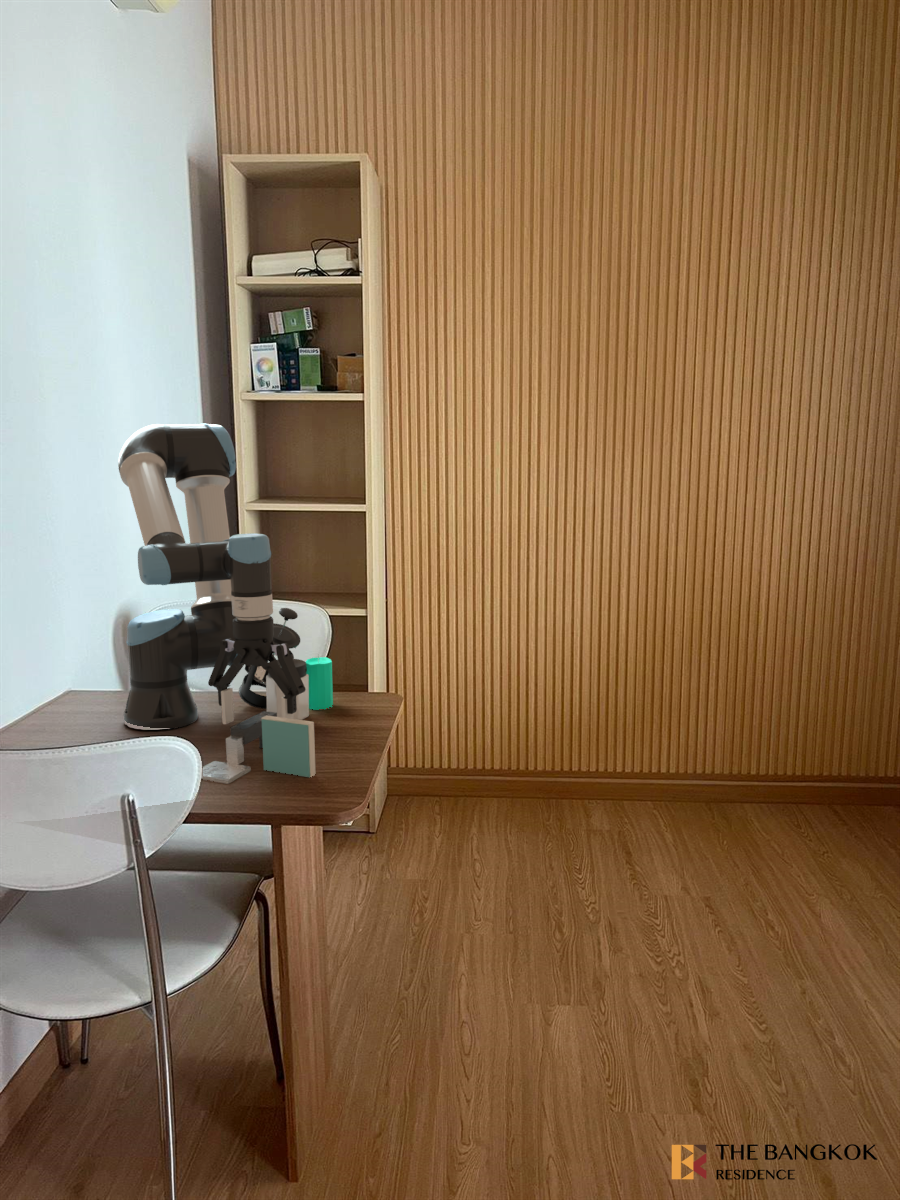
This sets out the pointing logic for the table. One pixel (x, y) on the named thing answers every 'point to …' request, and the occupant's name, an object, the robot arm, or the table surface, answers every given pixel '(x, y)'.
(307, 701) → the jar
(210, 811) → the table surface
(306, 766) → the tile
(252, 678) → the french press
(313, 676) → the candle
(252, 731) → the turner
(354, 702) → the table surface
